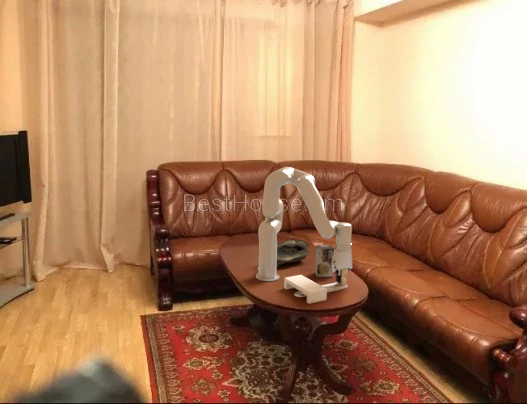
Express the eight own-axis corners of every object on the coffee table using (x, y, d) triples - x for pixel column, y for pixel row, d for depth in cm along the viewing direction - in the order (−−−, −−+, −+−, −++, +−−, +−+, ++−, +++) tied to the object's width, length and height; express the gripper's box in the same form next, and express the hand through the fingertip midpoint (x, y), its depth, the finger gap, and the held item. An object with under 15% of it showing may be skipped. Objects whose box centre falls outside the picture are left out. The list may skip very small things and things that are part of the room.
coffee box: (331, 272, 266) (332, 244, 263) (333, 276, 260) (334, 248, 257) (314, 272, 266) (316, 244, 263) (316, 276, 260) (317, 248, 257)
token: (291, 294, 236) (292, 292, 235) (302, 292, 238) (302, 290, 238) (298, 298, 230) (298, 297, 230) (309, 296, 233) (309, 294, 233)
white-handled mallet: (311, 290, 241) (312, 271, 239) (340, 284, 249) (341, 265, 248) (318, 294, 236) (319, 274, 234) (347, 288, 244) (348, 269, 242)
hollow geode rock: (306, 267, 290) (298, 245, 297) (315, 257, 280) (307, 235, 287) (265, 272, 276) (258, 249, 283) (274, 262, 267) (266, 238, 274)
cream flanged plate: (284, 288, 243) (284, 277, 241) (300, 284, 247) (301, 274, 246) (309, 303, 224) (309, 292, 223) (326, 299, 229) (326, 289, 228)
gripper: (350, 243, 250) (349, 276, 253) (325, 247, 242) (324, 281, 245) (360, 247, 243) (358, 281, 247) (334, 251, 235) (333, 286, 239)
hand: (341, 281), depth 246 cm, fingers closed on white-handled mallet, 3 cm apart
